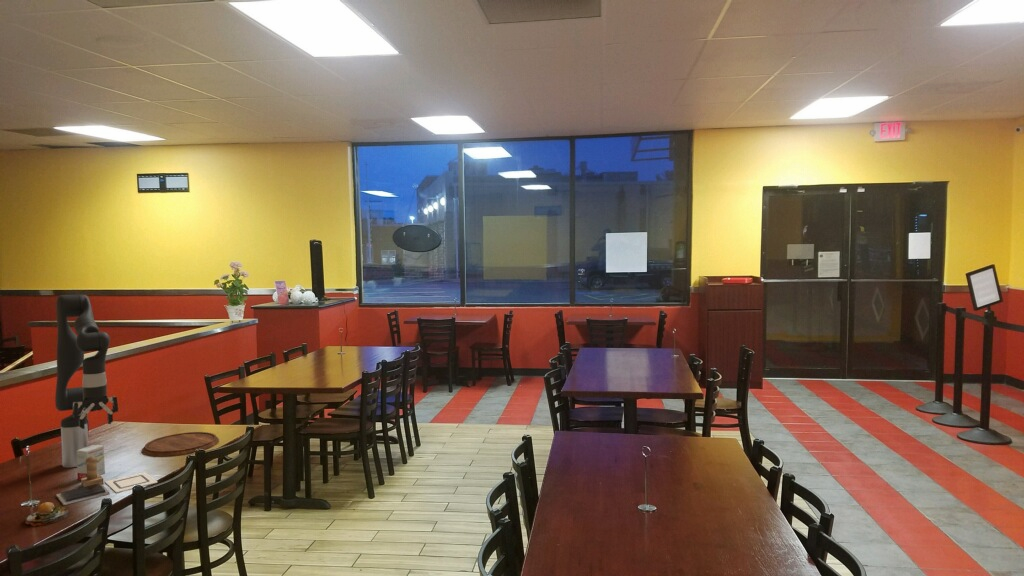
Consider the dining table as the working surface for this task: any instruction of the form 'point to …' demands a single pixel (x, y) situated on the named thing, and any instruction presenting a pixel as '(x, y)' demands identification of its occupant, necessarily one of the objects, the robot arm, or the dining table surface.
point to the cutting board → (180, 444)
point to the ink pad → (82, 494)
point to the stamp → (91, 473)
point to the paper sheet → (130, 482)
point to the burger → (47, 514)
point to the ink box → (88, 452)
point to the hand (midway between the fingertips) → (96, 426)
